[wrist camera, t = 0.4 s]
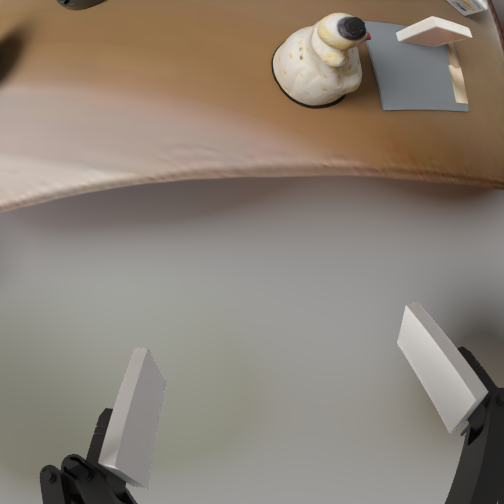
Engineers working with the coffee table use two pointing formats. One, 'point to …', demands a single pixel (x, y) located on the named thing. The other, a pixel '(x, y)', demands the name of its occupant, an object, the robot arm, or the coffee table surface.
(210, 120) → the coffee table surface
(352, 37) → the figurine
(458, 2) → the container
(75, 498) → the robot arm
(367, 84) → the coffee table surface
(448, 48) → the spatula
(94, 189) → the coffee table surface
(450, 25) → the tile
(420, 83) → the mat
